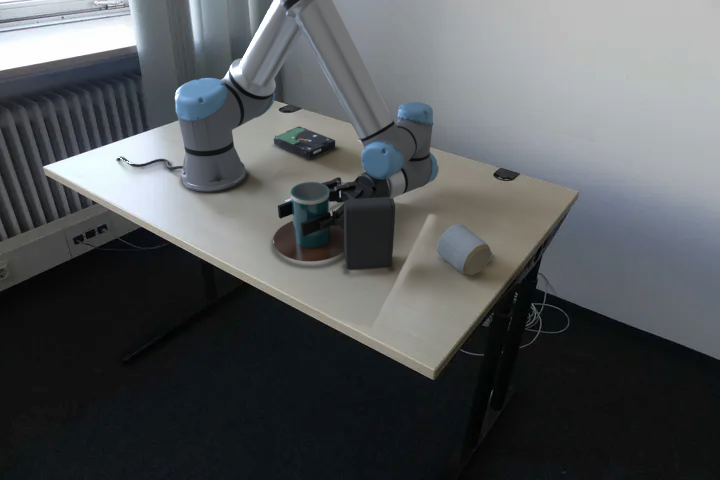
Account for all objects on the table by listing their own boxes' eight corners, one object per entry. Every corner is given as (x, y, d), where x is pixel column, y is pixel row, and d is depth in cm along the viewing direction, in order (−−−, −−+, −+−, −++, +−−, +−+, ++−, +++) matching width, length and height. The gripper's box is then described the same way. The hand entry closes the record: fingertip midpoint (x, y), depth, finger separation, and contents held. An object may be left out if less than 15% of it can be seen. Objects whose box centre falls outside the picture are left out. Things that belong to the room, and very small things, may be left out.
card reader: (389, 259, 102) (393, 194, 94) (393, 272, 99) (397, 205, 91) (344, 262, 102) (343, 196, 93) (346, 275, 98) (345, 208, 90)
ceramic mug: (463, 283, 97) (469, 250, 92) (433, 261, 102) (438, 229, 98) (501, 264, 102) (509, 232, 97) (471, 245, 107) (477, 213, 103)
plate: (259, 256, 103) (258, 250, 102) (295, 216, 115) (294, 211, 115) (333, 274, 98) (333, 268, 98) (362, 231, 111) (362, 225, 110)
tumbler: (287, 243, 104) (283, 196, 98) (303, 224, 110) (301, 178, 104) (321, 251, 102) (319, 203, 96) (336, 232, 108) (335, 185, 102)
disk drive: (336, 149, 145) (299, 134, 153) (336, 139, 143) (299, 125, 151) (310, 161, 138) (272, 145, 146) (309, 151, 137) (272, 135, 144)
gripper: (410, 219, 108) (321, 260, 96) (350, 183, 121) (265, 215, 109) (413, 188, 104) (320, 227, 92) (350, 153, 116) (261, 183, 104)
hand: (290, 220), depth 100 cm, fingers closed on tumbler, 7 cm apart
